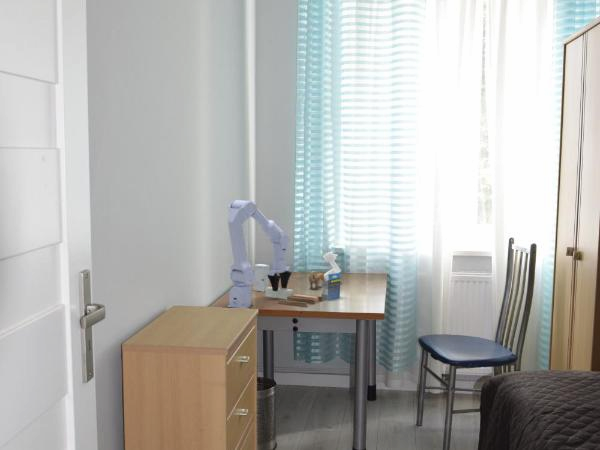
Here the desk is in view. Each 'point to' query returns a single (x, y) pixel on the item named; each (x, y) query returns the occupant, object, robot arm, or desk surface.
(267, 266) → the skincare box
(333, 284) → the label tape box
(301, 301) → the walnut drying rack
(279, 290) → the strip
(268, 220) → the robot arm
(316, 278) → the lion figurine
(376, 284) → the desk surface
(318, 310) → the desk surface
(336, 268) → the voxel character
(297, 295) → the terracotta strip
